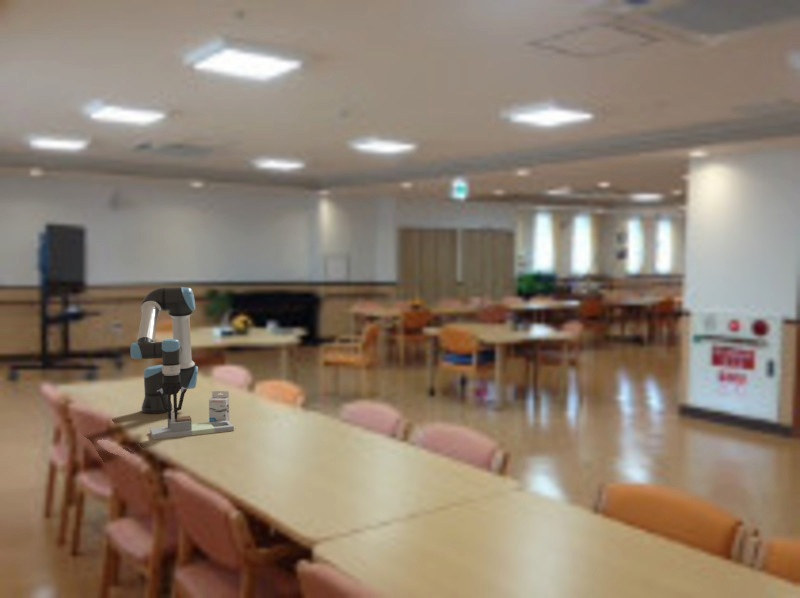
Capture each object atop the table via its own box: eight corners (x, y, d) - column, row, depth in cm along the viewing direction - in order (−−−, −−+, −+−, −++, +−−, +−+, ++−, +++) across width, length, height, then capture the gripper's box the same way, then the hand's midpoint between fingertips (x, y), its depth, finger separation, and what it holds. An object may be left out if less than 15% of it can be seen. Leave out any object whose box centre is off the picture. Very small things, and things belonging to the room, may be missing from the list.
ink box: (208, 423, 343) (208, 392, 342) (212, 421, 348) (211, 390, 347) (226, 423, 342) (225, 393, 341) (229, 421, 347) (229, 391, 346)
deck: (150, 432, 326) (149, 419, 326) (228, 424, 341) (227, 411, 340) (153, 439, 314) (152, 426, 314) (233, 430, 329) (233, 417, 329)
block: (176, 427, 327) (175, 416, 327) (189, 426, 329) (189, 415, 329) (177, 430, 322) (177, 419, 321) (191, 429, 324) (191, 418, 324)
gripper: (156, 376, 316) (158, 429, 318) (187, 374, 322) (189, 426, 323) (155, 373, 323) (156, 425, 325) (185, 371, 328) (186, 423, 330)
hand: (172, 426), depth 324 cm, fingers closed
